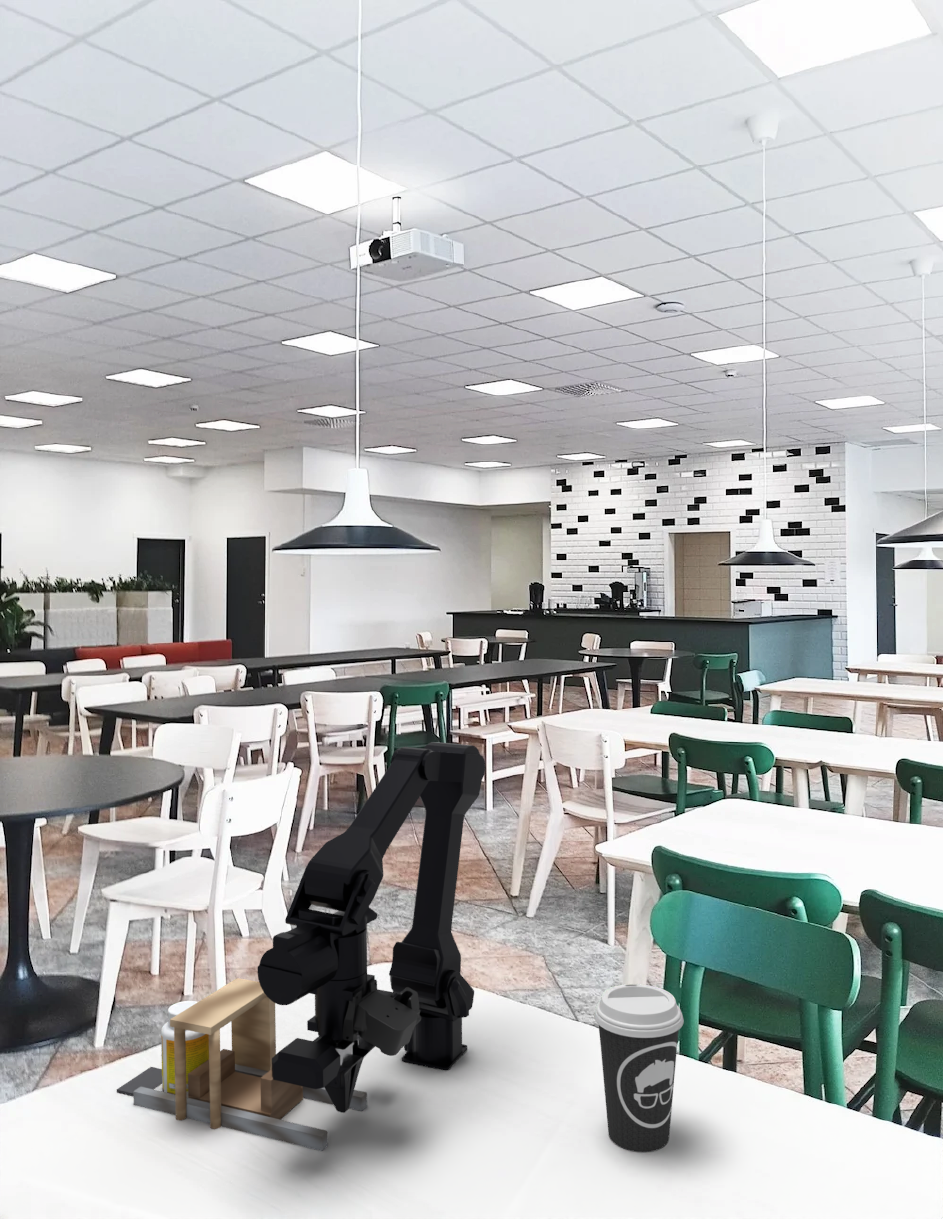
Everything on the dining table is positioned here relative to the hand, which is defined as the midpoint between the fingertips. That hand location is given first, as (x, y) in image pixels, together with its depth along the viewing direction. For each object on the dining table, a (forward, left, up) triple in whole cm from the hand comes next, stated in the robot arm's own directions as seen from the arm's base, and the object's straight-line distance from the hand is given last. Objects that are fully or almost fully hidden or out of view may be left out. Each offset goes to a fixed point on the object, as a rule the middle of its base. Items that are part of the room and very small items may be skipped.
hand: (342, 1110), depth 112 cm
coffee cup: (-30, -11, -2) cm, 32 cm away
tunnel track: (+12, 0, -2) cm, 12 cm away
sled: (+13, 0, -2) cm, 13 cm away
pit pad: (+27, 0, -2) cm, 27 cm away
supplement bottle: (+21, 0, -2) cm, 21 cm away
